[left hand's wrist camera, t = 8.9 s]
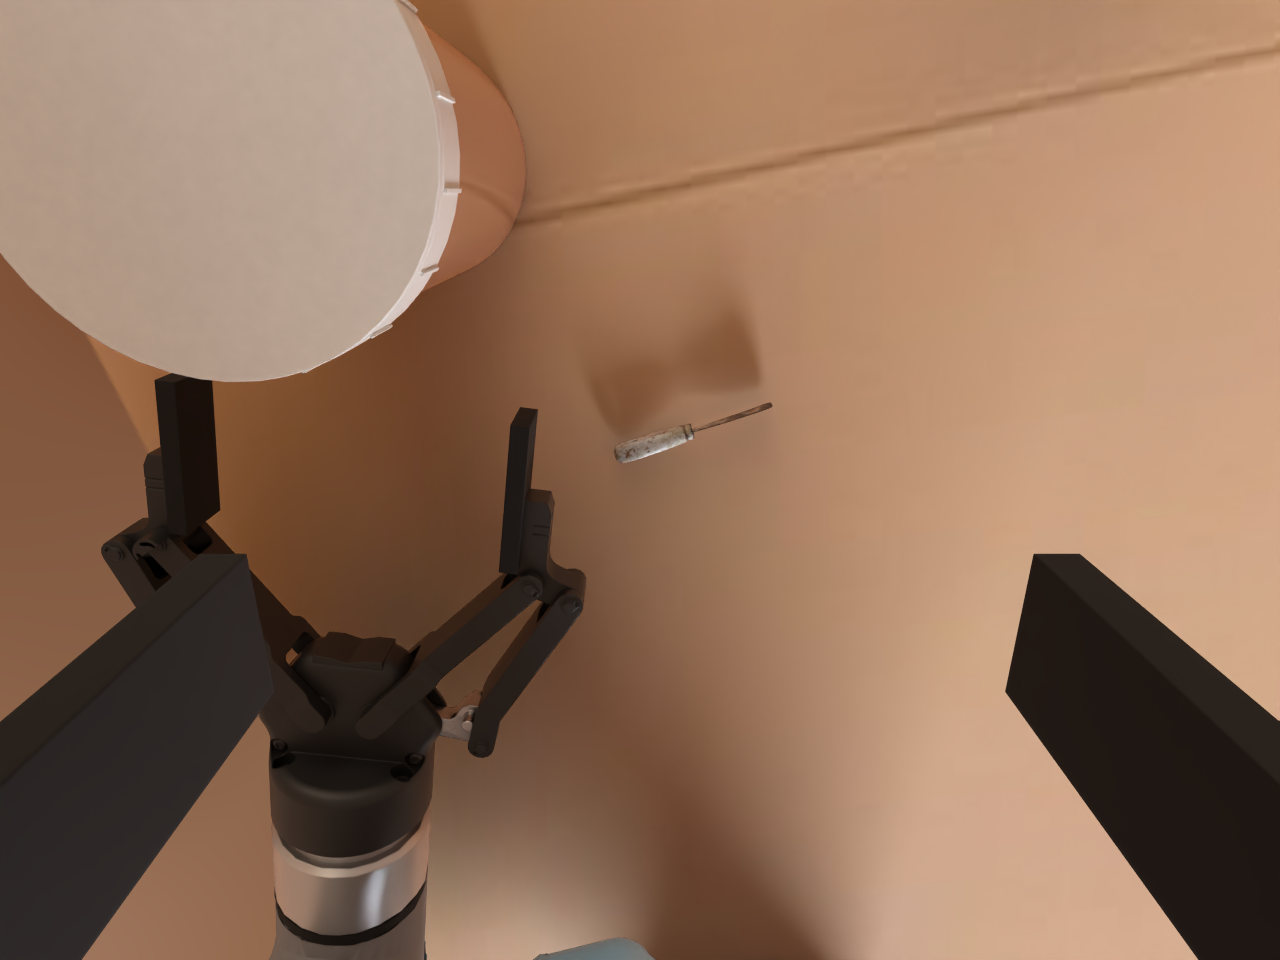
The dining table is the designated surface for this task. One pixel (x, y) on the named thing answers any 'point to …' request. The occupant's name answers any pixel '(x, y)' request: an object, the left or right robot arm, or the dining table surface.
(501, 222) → the jar
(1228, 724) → the left robot arm
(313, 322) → the lid
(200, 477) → the right robot arm
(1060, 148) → the dining table surface
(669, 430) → the putty knife
